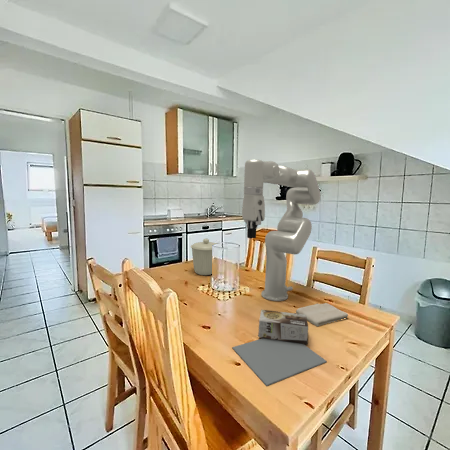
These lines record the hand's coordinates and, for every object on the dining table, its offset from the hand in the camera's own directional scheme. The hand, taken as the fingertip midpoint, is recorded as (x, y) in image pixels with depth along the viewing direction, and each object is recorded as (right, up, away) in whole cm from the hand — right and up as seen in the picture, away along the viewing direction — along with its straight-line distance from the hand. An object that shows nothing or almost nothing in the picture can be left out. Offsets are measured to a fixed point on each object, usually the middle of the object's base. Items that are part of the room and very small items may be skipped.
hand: (251, 237), depth 105 cm
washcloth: (+29, -33, +1) cm, 44 cm away
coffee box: (+1, -29, -13) cm, 32 cm away
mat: (+6, -35, -25) cm, 43 cm away
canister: (-23, -24, +53) cm, 62 cm away
